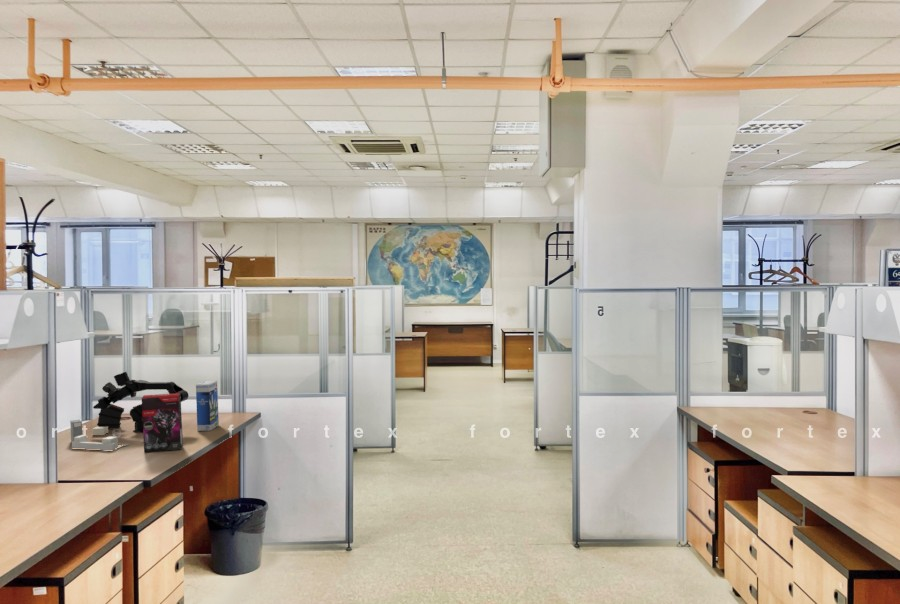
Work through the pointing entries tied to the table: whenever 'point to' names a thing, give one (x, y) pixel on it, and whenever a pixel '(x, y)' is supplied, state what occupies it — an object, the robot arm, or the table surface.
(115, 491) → the table surface
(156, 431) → the graphics card box
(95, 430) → the block
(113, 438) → the rail plate
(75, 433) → the module
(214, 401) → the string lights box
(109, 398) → the robot arm
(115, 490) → the table surface
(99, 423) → the black flat block
